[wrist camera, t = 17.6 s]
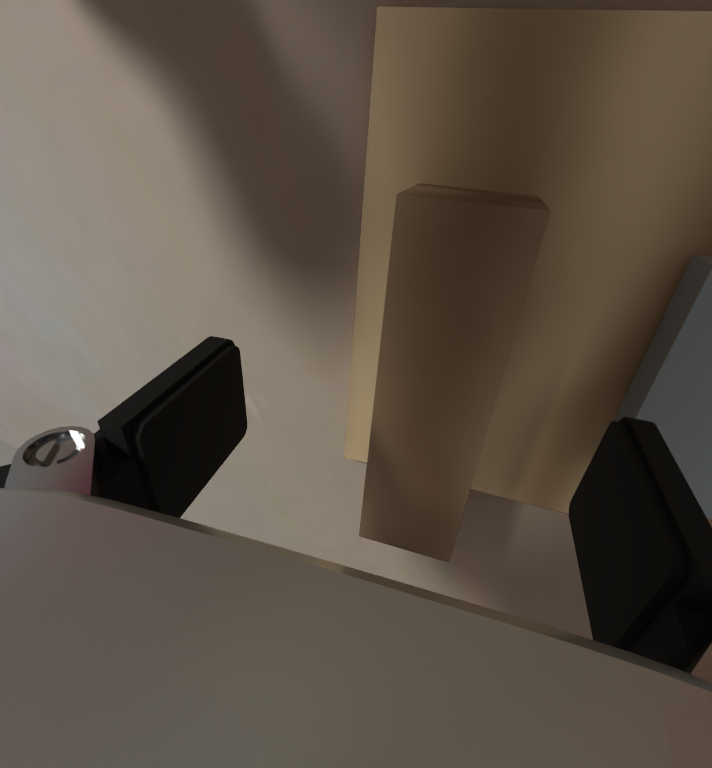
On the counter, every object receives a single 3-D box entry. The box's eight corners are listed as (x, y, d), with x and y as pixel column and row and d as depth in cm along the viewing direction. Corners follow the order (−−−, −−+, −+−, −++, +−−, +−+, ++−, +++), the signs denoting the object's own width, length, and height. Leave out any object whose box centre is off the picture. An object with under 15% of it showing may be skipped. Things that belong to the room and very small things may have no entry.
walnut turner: (380, 476, 22) (359, 536, 19) (419, 182, 15) (396, 194, 11) (456, 496, 21) (449, 562, 18) (538, 195, 14) (550, 210, 11)
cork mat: (347, 450, 22) (344, 457, 22) (381, 12, 13) (377, 6, 13) (836, 571, 18) (845, 583, 17) (1413, 28, 9) (1469, 22, 8)
